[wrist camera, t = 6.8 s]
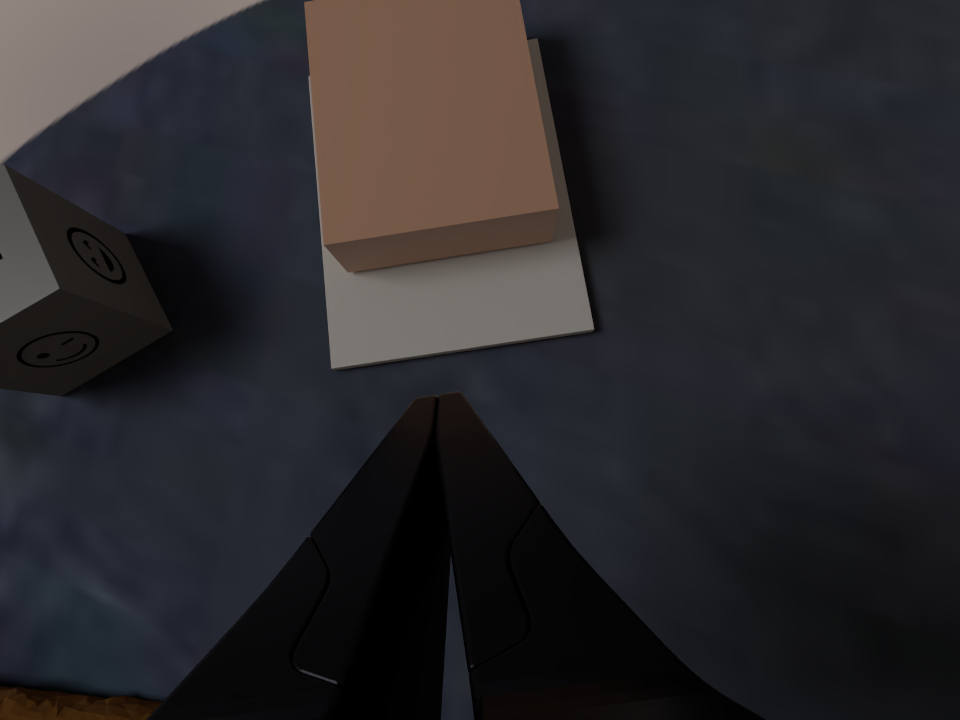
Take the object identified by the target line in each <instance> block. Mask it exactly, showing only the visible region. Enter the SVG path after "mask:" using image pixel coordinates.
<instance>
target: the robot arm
mask: <svg viewBox="0 0 960 720" xmlns="http://www.w3.org/2000/svg"><path fill="white" fill-rule="evenodd" d="M310 535H311V537H308V538H306V540H305V541H304V542H303V543H302V545H301V546H300V547H299V549H298V550H297V551H296V552H295V554H294V555H293V556H292V558H291V559H290V560H289V561H288V562H287V564H286V565H285V566H284V567H283V569H282V570H281V571H280V572H279V574H278V575H277V576H276V577H275V578H274V580H273V581H272V582H271V583H270V585H269V586H268V587H267V588H266V589H265V590H264V592H263V593H262V594H261V595H260V596H259V597H258V598H257V600H256V601H255V602H254V603H253V604H252V605H251V606H250V607H249V609H248V610H247V611H246V612H245V613H244V614H243V615H242V616H241V618H240V619H239V620H238V621H237V622H236V623H235V624H234V625H233V626H232V628H231V629H230V630H229V631H228V632H227V633H226V634H225V635H224V636H223V637H222V638H221V639H220V641H219V642H218V643H217V644H216V645H215V646H214V647H213V648H212V649H211V650H210V651H209V653H208V654H207V655H206V656H205V657H204V658H203V659H202V660H201V661H200V662H199V663H198V664H197V666H196V667H195V668H194V669H193V670H192V671H191V672H190V673H189V674H188V675H187V676H186V677H185V679H184V680H183V681H182V682H181V683H180V684H179V685H178V686H177V687H176V688H175V689H174V691H173V692H172V693H171V694H170V695H169V696H168V697H167V698H166V699H165V700H164V701H163V702H162V704H161V705H160V706H159V707H158V708H157V709H156V710H155V711H154V712H153V713H152V714H151V715H150V716H149V717H148V718H147V719H146V720H441V706H442V690H443V673H444V657H445V640H446V624H447V607H448V591H449V574H450V558H451V557H452V564H453V571H454V578H455V585H456V592H457V599H458V605H459V612H460V619H461V626H462V633H463V640H464V646H465V653H466V660H467V667H468V672H469V681H470V688H471V695H472V703H473V711H474V720H765V719H764V718H762V717H760V716H758V715H757V714H755V713H753V712H752V711H750V710H748V709H746V708H745V707H743V706H741V705H740V704H738V703H736V702H734V701H733V700H731V699H729V698H728V697H726V696H725V695H723V694H721V693H720V692H718V691H717V690H715V689H714V688H713V687H711V686H710V685H708V684H707V683H706V682H704V681H703V680H702V679H701V678H700V677H698V676H697V675H696V674H695V673H693V672H692V671H691V670H690V669H689V668H688V667H687V666H686V665H685V664H684V663H683V662H681V661H680V660H679V659H678V658H677V657H676V656H675V655H674V654H673V653H672V652H671V651H670V650H669V649H668V648H667V647H666V646H665V645H664V644H663V642H662V641H661V640H660V639H659V638H658V637H657V636H656V635H655V634H654V633H653V632H652V631H651V630H650V629H649V628H648V627H647V626H646V625H645V623H644V622H643V621H642V620H641V619H640V618H639V617H638V616H637V615H636V614H635V613H634V612H633V611H632V610H631V609H630V608H629V607H628V606H627V604H626V603H625V602H624V601H623V600H622V599H621V598H620V597H619V596H618V595H617V594H616V593H615V592H614V591H613V590H612V589H611V588H610V586H609V585H608V584H607V583H606V582H605V581H604V580H603V579H602V578H601V577H600V576H599V575H598V574H597V573H596V572H595V570H594V569H593V568H592V567H591V566H590V565H589V564H588V563H587V561H586V560H585V559H584V558H583V557H582V556H581V555H580V554H579V552H578V551H577V550H576V549H575V548H574V547H573V545H572V544H571V543H570V542H569V540H568V539H567V538H566V536H565V535H564V534H563V532H562V531H561V530H560V529H559V527H558V526H557V525H556V523H555V522H554V521H553V519H552V518H551V517H550V515H549V514H548V512H547V511H546V510H545V508H544V507H543V506H542V505H540V502H539V500H538V499H537V497H536V496H535V494H534V493H533V492H532V490H531V489H530V487H529V486H528V485H527V483H526V482H525V480H524V479H523V478H522V476H521V475H520V473H519V472H518V471H517V469H516V468H515V466H514V465H513V464H512V462H511V461H510V459H509V458H508V457H507V455H506V454H505V452H504V451H503V450H502V448H501V447H500V445H499V444H498V443H497V441H496V440H495V438H494V437H493V435H492V434H491V433H490V431H489V430H488V428H487V427H486V426H485V424H484V423H483V421H482V420H481V419H480V417H479V416H478V414H477V413H476V412H475V410H474V409H473V407H472V406H471V405H470V403H469V402H468V400H467V399H466V398H465V396H464V395H463V393H461V392H459V391H458V392H451V393H444V394H441V395H440V396H439V397H438V396H436V395H431V396H424V397H418V398H416V399H414V400H413V402H412V403H411V404H410V406H409V407H408V408H407V409H406V411H405V412H404V413H403V415H402V416H401V417H400V418H399V420H398V421H397V422H396V424H395V425H394V426H393V427H392V429H391V430H390V431H389V433H388V434H387V435H386V437H385V438H384V439H383V440H382V442H381V443H380V444H379V446H378V447H377V448H376V449H375V451H374V452H373V453H372V455H371V456H370V457H369V458H368V460H367V461H366V462H365V464H364V465H363V466H362V468H361V469H360V470H359V471H358V473H357V474H356V475H355V477H354V478H353V479H352V480H351V482H350V483H349V484H348V486H347V487H346V488H345V489H344V491H343V492H342V493H341V495H340V496H339V497H338V499H337V500H336V501H335V502H334V504H333V505H332V506H331V508H330V509H329V510H328V511H327V513H326V514H325V515H324V517H323V518H322V519H321V520H320V522H319V523H318V524H317V526H316V527H315V528H314V530H313V531H312V532H311V534H310Z"/></svg>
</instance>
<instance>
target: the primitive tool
mask: <svg viewBox="0 0 960 720" xmlns="http://www.w3.org/2000/svg"><path fill="white" fill-rule="evenodd" d="M161 704H162V702H160V701H151V700H142V699H138V698H134V697H130V696H125V695H123V696H117V697H111V698H108V699H107V698H102V697H97V696H92V695H83V694H69V693H64V692H59V691H41V690H33V689H26V688H23V687H5V686H0V720H146V719H147V718H148V717H149V716H150V715H151V714H152V713H153V712H154V711H155V710H156V709H157V708H158V707H159V706H160V705H161Z"/></svg>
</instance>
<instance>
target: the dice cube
mask: <svg viewBox="0 0 960 720" xmlns="http://www.w3.org/2000/svg"><path fill="white" fill-rule="evenodd" d="M171 331H173V329H172V327H171V325H170V323H169V321H168V319H167V317H166V315H165V313H164V311H163V309H162V307H161V305H160V303H159V301H158V299H157V297H156V295H155V293H154V291H153V289H152V287H151V285H150V283H149V280H148V278H147V276H146V274H145V272H144V270H143V268H142V266H141V264H140V262H139V260H138V258H137V256H136V254H135V252H134V250H133V248H132V246H131V244H130V242H129V240H128V238H127V236H126V234H125V233H123V232H121V231H120V230H118V229H116V228H114V227H113V226H111V225H109V224H107V223H106V222H104V221H102V220H100V219H99V218H97V217H95V216H93V215H92V214H90V213H88V212H86V211H85V210H83V209H81V208H79V207H78V206H76V205H74V204H73V203H71V202H69V201H67V200H66V199H64V198H62V197H60V196H59V195H57V194H55V193H53V192H52V191H50V190H48V189H46V188H45V187H43V186H41V185H39V184H38V183H36V182H34V181H32V180H31V179H29V178H27V177H25V176H24V175H22V174H20V173H19V172H17V171H15V170H13V169H12V168H10V167H8V166H6V165H5V164H3V165H2V166H0V389H8V390H16V391H24V392H32V393H40V394H48V395H55V396H63V395H65V394H66V393H68V392H70V391H71V390H73V389H75V388H76V387H78V386H80V385H82V384H83V383H85V382H87V381H88V380H90V379H92V378H93V377H95V376H97V375H98V374H100V373H102V372H103V371H105V370H107V369H109V368H110V367H112V366H114V365H115V364H117V363H119V362H120V361H122V360H124V359H125V358H127V357H129V356H130V355H132V354H134V353H136V352H137V351H139V350H141V349H142V348H144V347H146V346H147V345H149V344H151V343H152V342H154V341H156V340H157V339H159V338H161V337H163V336H164V335H166V334H168V333H169V332H171Z"/></svg>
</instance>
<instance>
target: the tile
mask: <svg viewBox="0 0 960 720" xmlns="http://www.w3.org/2000/svg"><path fill="white" fill-rule="evenodd" d="M304 4H305V17H306V29H307V42H308V54H309V67H310V80H311V92H312V105H313V117H314V130H315V142H316V155H317V167H318V180H319V192H320V205H321V218H322V230H323V243H324V246H325V247H326V248H327V249H328V251H329V252H330V253H331V254H332V255H333V256H334V257H335V259H336V260H337V261H338V262H339V263H340V264H341V265H342V267H343V268H344V269H345V270H346V271H347V272H348V273H350V272H356V271H362V270H369V269H375V268H382V267H388V266H395V265H401V264H408V263H414V262H421V261H427V260H434V259H440V258H447V257H453V256H460V255H466V254H472V253H479V252H485V251H492V250H498V249H505V248H511V247H518V246H524V245H531V244H537V243H544V242H550V241H552V238H553V234H554V229H555V224H556V220H557V215H558V211H559V206H558V201H557V195H556V190H555V185H554V180H553V174H552V169H551V164H550V158H549V153H548V148H547V143H546V137H545V132H544V127H543V122H542V116H541V111H540V106H539V101H538V95H537V90H536V85H535V79H534V74H533V69H532V64H531V58H530V53H529V48H528V43H527V37H526V32H525V27H524V22H523V16H522V11H521V6H520V0H315V1H309V2H304Z"/></svg>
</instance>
